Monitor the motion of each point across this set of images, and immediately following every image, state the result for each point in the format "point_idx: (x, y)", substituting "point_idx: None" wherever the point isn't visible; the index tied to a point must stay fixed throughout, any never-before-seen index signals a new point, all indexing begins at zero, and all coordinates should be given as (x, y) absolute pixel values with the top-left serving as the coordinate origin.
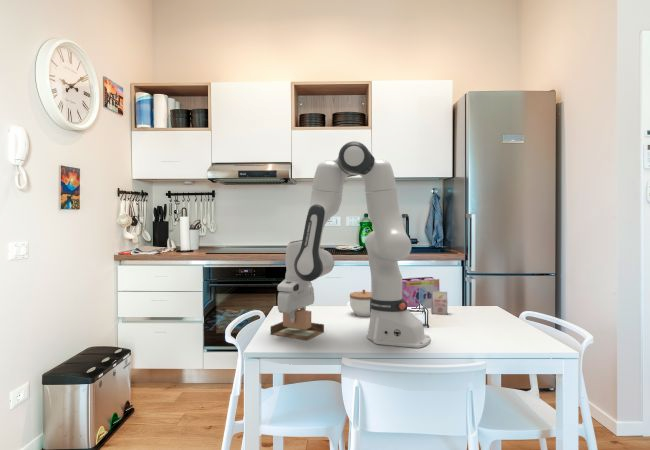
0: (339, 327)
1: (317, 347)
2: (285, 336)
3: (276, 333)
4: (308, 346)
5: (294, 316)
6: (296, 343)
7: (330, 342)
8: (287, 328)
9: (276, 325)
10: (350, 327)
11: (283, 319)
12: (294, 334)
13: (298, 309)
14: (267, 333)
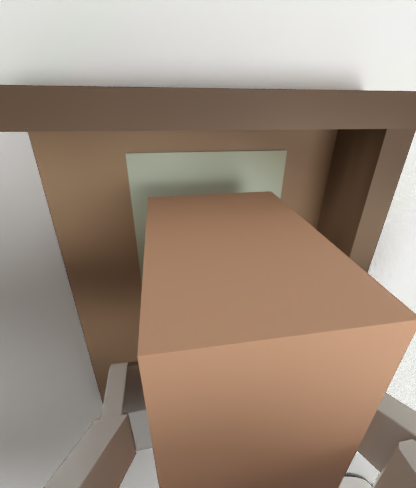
0: (402, 374)
1: (46, 470)
2: (67, 266)
3: (55, 161)
4: (23, 447)
5: (116, 476)
6: (10, 392)
7: (151, 461)
8: (259, 156)
9: (87, 130)
10: (409, 401)
11: (147, 241)
12: (138, 303)
13: (341, 472)
14: (15, 23)
